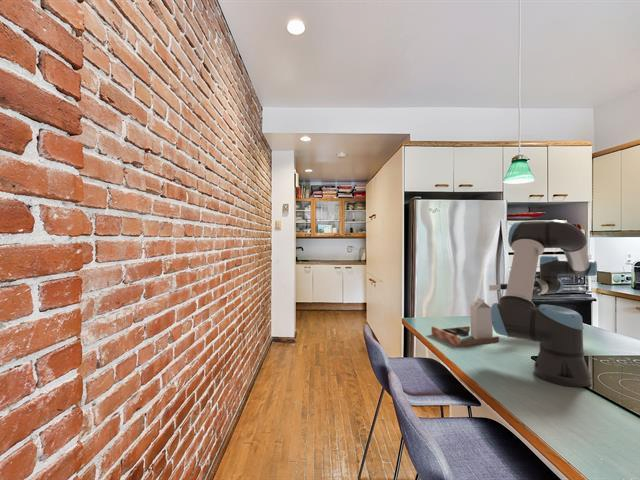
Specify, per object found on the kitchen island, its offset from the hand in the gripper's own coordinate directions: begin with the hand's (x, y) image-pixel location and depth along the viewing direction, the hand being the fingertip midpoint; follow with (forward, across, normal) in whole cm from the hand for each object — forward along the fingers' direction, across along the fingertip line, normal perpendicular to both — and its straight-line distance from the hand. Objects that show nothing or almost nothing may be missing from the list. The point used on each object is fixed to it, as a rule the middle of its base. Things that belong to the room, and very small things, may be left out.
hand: (500, 289), depth 148 cm
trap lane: (+19, +3, -22) cm, 30 cm away
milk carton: (+12, 0, -22) cm, 26 cm away
